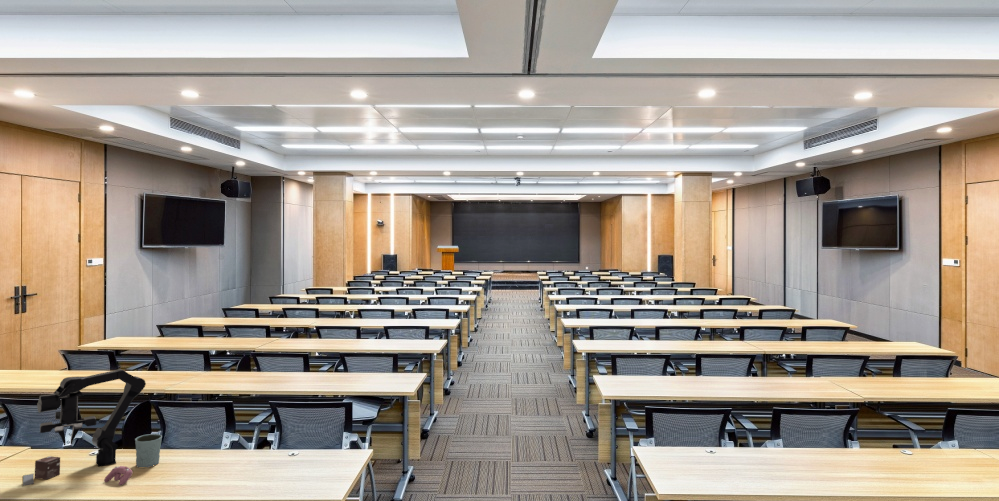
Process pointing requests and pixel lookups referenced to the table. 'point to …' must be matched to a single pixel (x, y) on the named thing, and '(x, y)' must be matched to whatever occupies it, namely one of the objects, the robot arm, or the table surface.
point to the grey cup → (148, 450)
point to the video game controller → (119, 474)
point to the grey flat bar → (28, 479)
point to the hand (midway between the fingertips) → (67, 444)
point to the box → (47, 467)
